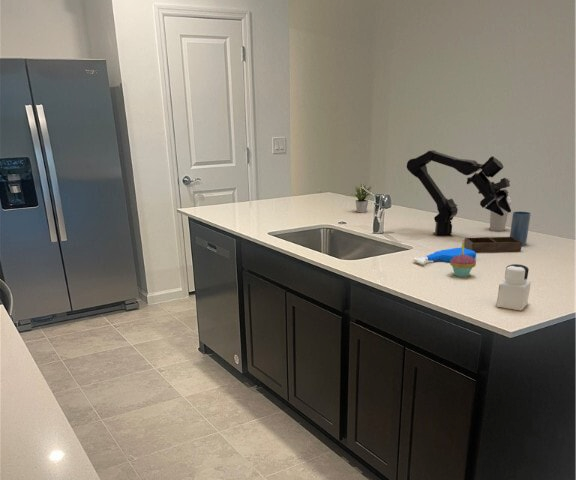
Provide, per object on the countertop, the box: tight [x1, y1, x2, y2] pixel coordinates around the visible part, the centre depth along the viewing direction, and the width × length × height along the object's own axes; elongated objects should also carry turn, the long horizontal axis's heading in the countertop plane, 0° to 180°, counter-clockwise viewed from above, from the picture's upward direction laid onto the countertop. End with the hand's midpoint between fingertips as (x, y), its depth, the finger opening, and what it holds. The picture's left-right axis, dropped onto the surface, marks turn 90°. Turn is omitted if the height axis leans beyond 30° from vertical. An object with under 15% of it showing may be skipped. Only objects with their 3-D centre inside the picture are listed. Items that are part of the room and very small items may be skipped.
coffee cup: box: [489, 196, 513, 232], centre depth 255 cm, size 10×10×15 cm
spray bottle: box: [413, 247, 477, 266], centre depth 208 cm, size 3×11×24 cm
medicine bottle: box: [496, 263, 532, 311], centre depth 159 cm, size 7×7×12 cm
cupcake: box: [449, 239, 477, 278], centre depth 188 cm, size 9×8×12 cm
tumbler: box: [509, 211, 531, 247], centre depth 229 cm, size 7×7×13 cm
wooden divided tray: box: [463, 236, 522, 254], centre depth 223 cm, size 20×10×4 cm, turn 91°
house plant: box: [351, 181, 373, 214], centre depth 305 cm, size 14×14×16 cm
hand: (506, 213), depth 230 cm, fingers open, 9 cm apart
